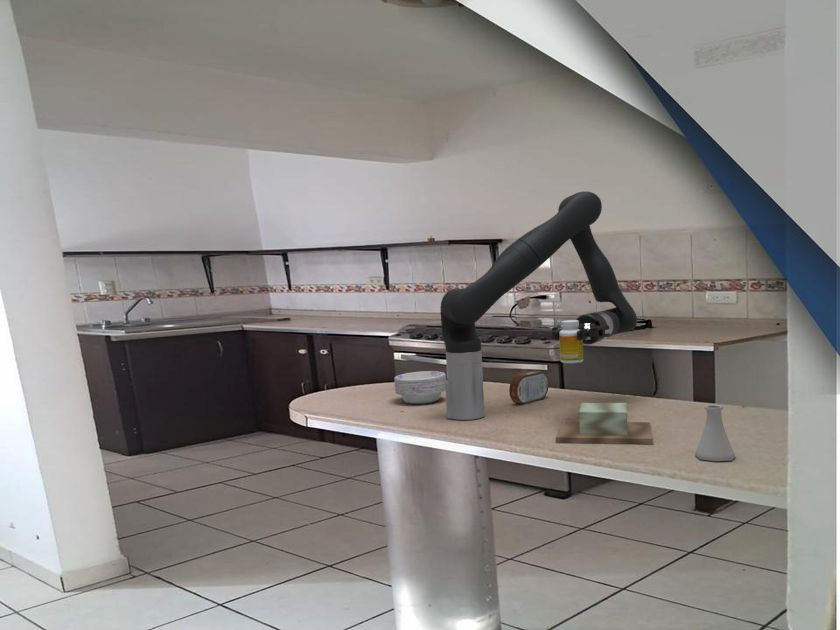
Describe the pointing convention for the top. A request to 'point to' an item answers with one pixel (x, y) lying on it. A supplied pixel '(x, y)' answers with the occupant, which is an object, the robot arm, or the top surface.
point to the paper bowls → (420, 386)
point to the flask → (714, 438)
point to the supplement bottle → (570, 343)
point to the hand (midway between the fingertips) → (566, 335)
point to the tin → (528, 387)
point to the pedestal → (604, 426)
